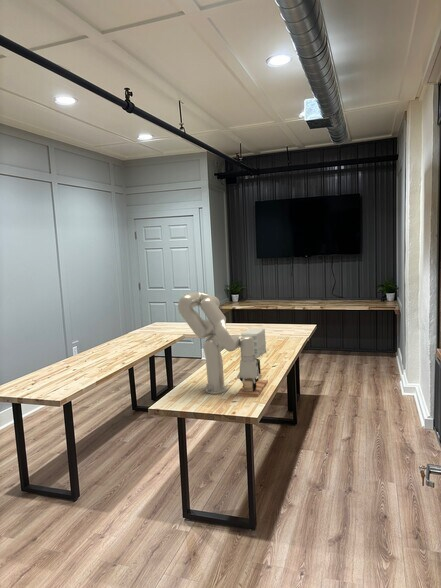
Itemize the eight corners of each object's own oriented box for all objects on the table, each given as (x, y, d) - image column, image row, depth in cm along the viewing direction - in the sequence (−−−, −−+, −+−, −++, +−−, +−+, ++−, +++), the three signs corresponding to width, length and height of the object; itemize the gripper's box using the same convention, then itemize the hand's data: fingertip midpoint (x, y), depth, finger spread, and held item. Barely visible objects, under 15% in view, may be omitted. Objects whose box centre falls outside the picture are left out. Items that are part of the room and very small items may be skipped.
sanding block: (252, 392, 234) (251, 382, 233) (244, 392, 236) (243, 381, 235) (255, 388, 241) (254, 377, 240) (247, 387, 242) (247, 377, 241)
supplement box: (250, 350, 330) (248, 328, 328) (266, 351, 324) (265, 328, 322) (242, 356, 314) (240, 333, 312) (258, 357, 309) (257, 333, 307)
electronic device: (248, 372, 276) (247, 357, 275) (260, 374, 270) (259, 359, 268) (244, 374, 273) (243, 359, 272) (257, 376, 266) (256, 360, 265)
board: (257, 397, 231) (257, 394, 230) (236, 395, 235) (236, 393, 234) (267, 382, 253) (267, 380, 253) (248, 381, 257) (248, 379, 257)
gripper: (264, 356, 237) (266, 387, 239) (235, 355, 242) (237, 386, 244) (261, 360, 230) (263, 392, 232) (231, 359, 235) (233, 391, 237)
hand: (250, 389), depth 238 cm, fingers closed on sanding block, 4 cm apart
